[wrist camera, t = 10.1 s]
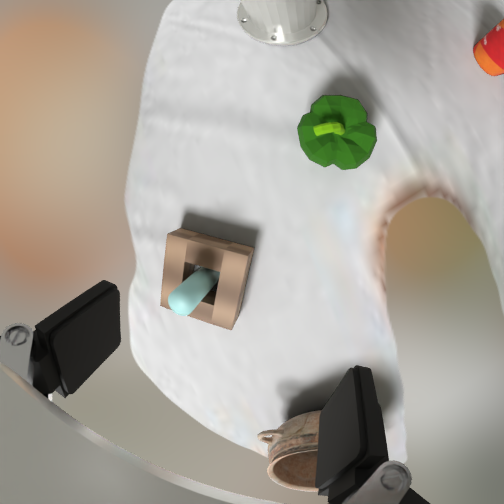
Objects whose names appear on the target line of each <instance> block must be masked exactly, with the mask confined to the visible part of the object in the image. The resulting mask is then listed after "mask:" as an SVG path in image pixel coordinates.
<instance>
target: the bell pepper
mask: <svg viewBox="0 0 504 504" xmlns="http://www.w3.org/2000/svg"><path fill="white" fill-rule="evenodd" d="M297 129H298V135H299V140H300V146H301V148H302V149H303V151H304V152H305V154H306V155H307V157H308V158H309V160H311V161H313V162H315V163H317V164H319V165H321V166H323V167H327V166H329V165H331V164H335V165H336V166H337V167H339V168H340V169H342V170H347V169H355V168H357V167H359V166H360V165H361V164H362V163H364V162H365V161H366V160H367V159H369V158H370V155H371V153H372V151H373V149H374V146H375V144H376V142H377V137H376V128H375V126H374V125H372V124H370V123H368V122H367V112H366V111H365V109H364V108H363V106H362V105H361V103H360V102H359V100H358V99H354V98H350V97H346V96H342V95H322V96H321V97H320V98H319V99H318V100H316V101H315V102H314V103H313V104H312V105H311V110H310V113H307V114H305V115H303V116H302V118H301V121H300V123H299V125H298V127H297Z"/></svg>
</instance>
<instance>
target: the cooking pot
mask: <svg viewBox="0 0 504 504" xmlns="http://www.w3.org/2000/svg"><path fill="white" fill-rule="evenodd" d="M321 411H322V410H320V411H312V412H308V413H304V414H301V415H298V416H296V417H294V418H291V419H289V420H288V421H286V422H285V423H283V424H282V425H281V426H280V427H279V428H278V429H277V430H267V431H263V432H261V433H259V434H258V439H259V440H260V441H262V442H265V443H267V444H269V445H268V457H269V462H270V465H269V466H268V469H267V473H268V475H269V477H270V478H271V479H272V480H273V481H274V482H276V483H277V484H280V485H282V486H284V487H287V488H290V489H295V490H301V491H318V490H319V488H316V487H315V479H316V467H317V453H318V436H319V417H320V413H321ZM268 435H272V437H268V438H267V437H264V436H268Z"/></svg>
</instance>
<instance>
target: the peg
mask: <svg viewBox="0 0 504 504" xmlns="http://www.w3.org/2000/svg"><path fill="white" fill-rule="evenodd" d="M219 276H220V272H219V271H215V270H212V269H209V268H205V267H202V266H201V267H200V268H199V269H197V270H196V271H195V272H194V273H193V274H192V275H191V276H189V277H188V278H187V279H186V280H185V281H184V282H183V283H181V284H180V285H179V286H178V287H177V288H176V289H175V290H173V291H172V292H171V293H170V294H169V297H168V303H169V306H170V308H171V309H172V310H173V311H174V312H175V313H176V314H178V315H181V316H186V315H189V314H190V313H191V312H192V311H193V310H194V309H195V307H196V306H197V305H198V304H199V303H200V301H201V300H202V299H203V298H204V297H205V296H206V294H207V293H208V292H209V291H210V290H211V288H212V287H213V286H214V285H215V284H216V283H217V281H218V280H219Z"/></svg>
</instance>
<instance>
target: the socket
mask: <svg viewBox="0 0 504 504" xmlns="http://www.w3.org/2000/svg"><path fill="white" fill-rule="evenodd" d="M253 252H254V248H253V247H249V246H246V245H242V244H238V243H235V242H231V241H227V240H223V239H220V238H216V237H212V236H208V235H205V234H201V233H197V232H194V231H190V230H186V229H182V228H179V229H177V230H175V231H173V232H170V233H168V234H167V241H166V250H165V259H164V268H163V279H162V291H161V305H160V306H162V307H165V308H167V309H170V310H172V309H171V308H170V306H169V303H168V297H169V294H170V293H171V292H172V291H173V290H175V289H176V288H177V287H178V286H179V285H180V284H181V283H183V282H184V281H185V280H186V279H187V278H188V277H189V276H191V275H192V274H193V271H194V264H195V265H198V266H202V267H205V268H209V269H212V270H215V271H219V272H220V276H219V282H218V287H217V292H216V291H213V290H210V291H209V292H208V293H207V294H206V296H205V297H204V298H203V299H202V300H201V301H200V303H199V304H198V305H197V306H196V307H195V309H194V310H193V311H192V312H191V313H190V314H189V315H187V316H190V317H193V318H195V319H198V320H201V321H204V322H207V323H210V324H213V325H216V326H219V327H223V328H226V329H229V330H232V328H233V326H234V324H235V322H236V320H237V319H238V316H239V312H240V308H241V303H242V299H243V295H244V291H245V286H246V282H247V278H248V273H249V269H250V265H251V260H252V256H253Z"/></svg>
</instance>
